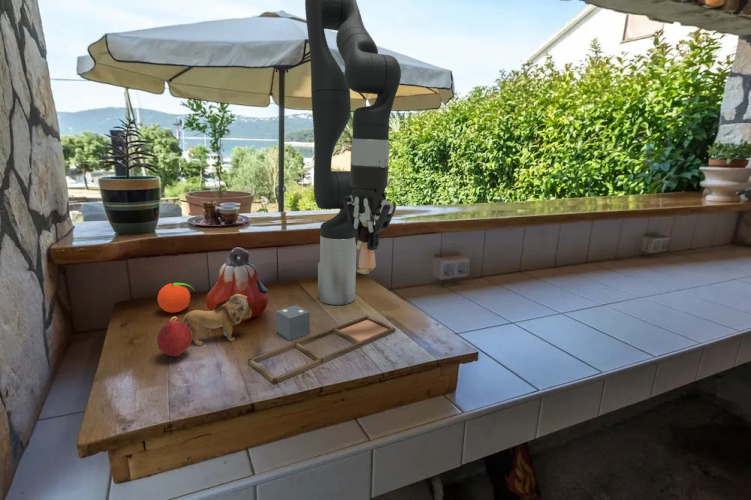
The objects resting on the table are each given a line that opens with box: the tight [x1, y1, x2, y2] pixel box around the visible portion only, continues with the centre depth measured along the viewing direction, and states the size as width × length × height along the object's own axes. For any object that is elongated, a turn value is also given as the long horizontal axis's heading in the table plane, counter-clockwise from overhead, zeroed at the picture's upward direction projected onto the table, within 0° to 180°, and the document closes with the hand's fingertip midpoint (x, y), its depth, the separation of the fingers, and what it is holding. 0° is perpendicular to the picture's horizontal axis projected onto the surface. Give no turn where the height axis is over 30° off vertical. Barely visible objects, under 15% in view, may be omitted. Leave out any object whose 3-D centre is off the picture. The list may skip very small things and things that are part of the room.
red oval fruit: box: [156, 315, 193, 358], centre depth 76 cm, size 6×6×8 cm
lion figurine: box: [181, 293, 249, 347], centre depth 83 cm, size 15×5×9 cm, turn 120°
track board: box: [247, 315, 396, 385], centre depth 83 cm, size 9×31×1 cm, turn 135°
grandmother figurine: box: [356, 213, 377, 275], centre depth 85 cm, size 8×4×13 cm, turn 167°
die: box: [275, 304, 311, 341], centre depth 88 cm, size 5×5×5 cm
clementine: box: [157, 282, 195, 314], centre depth 96 cm, size 8×7×7 cm
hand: (366, 247), depth 85 cm, fingers closed on grandmother figurine, 3 cm apart
